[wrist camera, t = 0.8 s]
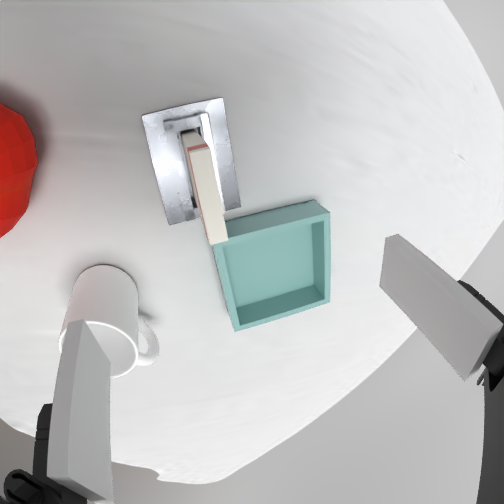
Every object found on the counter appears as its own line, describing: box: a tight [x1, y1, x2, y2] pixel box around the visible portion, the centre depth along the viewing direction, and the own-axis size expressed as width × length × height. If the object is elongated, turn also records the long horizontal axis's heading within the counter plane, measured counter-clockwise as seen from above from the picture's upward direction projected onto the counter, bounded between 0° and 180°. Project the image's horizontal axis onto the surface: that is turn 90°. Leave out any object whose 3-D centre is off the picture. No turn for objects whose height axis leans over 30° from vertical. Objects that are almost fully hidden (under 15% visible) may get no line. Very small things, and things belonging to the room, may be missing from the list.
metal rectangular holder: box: [142, 98, 241, 225], centre depth 30 cm, size 12×8×3 cm, turn 8°
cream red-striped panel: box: [180, 129, 228, 245], centre depth 26 cm, size 7×1×11 cm, turn 8°
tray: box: [212, 200, 331, 332], centre depth 38 cm, size 13×13×4 cm
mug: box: [59, 265, 159, 378], centre depth 32 cm, size 12×8×10 cm
